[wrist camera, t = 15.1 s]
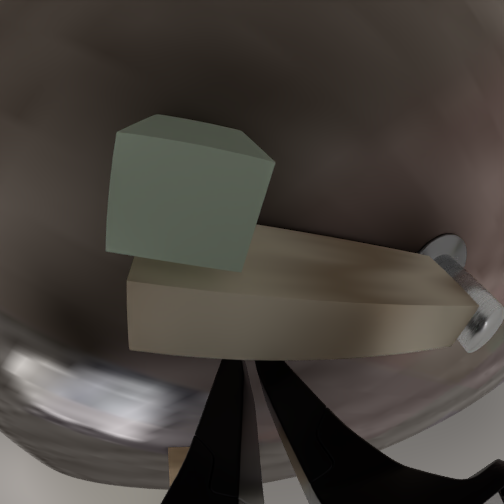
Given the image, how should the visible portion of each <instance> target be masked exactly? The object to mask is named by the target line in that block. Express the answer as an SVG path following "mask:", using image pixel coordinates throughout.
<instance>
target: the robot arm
mask: <svg viewBox="0 0 504 504" xmlns="http://www.w3.org/2000/svg"><path fill="white" fill-rule="evenodd" d="M255 364H256V368H257V372H258V375H259V379H260V382H261V386H262V389H263V393H264V396H265V400H266V403H267V406H268V408H269V411H270V413H271V416H272V418H273V421H274V423H275V426H276V428H277V431H278V433H279V435H280V438H281V440H282V443H283V445H284V447H285V450H286V452H287V455H288V457H289V459H290V462H291V464H292V466H293V469H294V471H295V473H296V475H297V478H298V480H299V482H300V484H301V486H302V489H303V491H304V493H305V495H306V498H307V500H308V502H309V504H504V461H502V460H500V459H497V460H495V461H493V462H492V463H490V464H489V465H487V466H486V467H485V468H483V469H482V470H480V471H479V472H477V473H476V474H474V475H473V476H471V477H469V478H468V479H454V478H449V477H445V476H440V475H436V474H432V473H428V472H424V471H421V470H417V469H414V468H410V467H407V466H404V465H402V464H400V463H398V462H396V461H394V460H392V459H391V458H389V457H388V456H386V455H385V454H383V453H382V452H381V451H379V450H378V449H376V448H375V447H374V446H372V445H371V444H369V443H368V442H367V441H365V440H364V439H363V438H361V437H360V436H358V435H357V434H356V433H355V432H353V431H352V430H351V429H350V428H348V427H347V426H346V425H345V424H344V423H343V422H342V421H341V420H340V419H339V418H338V417H337V416H335V415H334V413H333V412H332V411H331V410H330V409H329V408H326V405H325V404H324V403H323V402H322V401H321V400H320V399H319V398H318V397H317V396H316V395H315V394H314V393H313V392H312V391H311V390H310V389H309V387H308V386H307V385H306V384H305V383H304V382H303V381H302V380H301V379H300V378H299V377H298V376H297V375H296V373H295V372H294V371H293V370H292V369H291V368H290V367H289V366H288V365H287V364H286V363H285V361H284V360H255ZM195 435H196V436H194V437H193V440H192V443H191V445H190V448H189V450H188V453H187V455H186V457H185V460H184V462H183V464H182V466H181V468H180V470H179V472H178V474H177V476H176V477H175V479H174V481H173V483H172V485H171V486H170V488H169V490H168V492H167V494H166V496H165V497H164V499H163V501H162V503H161V504H264V496H263V487H262V475H261V465H260V454H259V444H258V433H257V422H256V411H255V404H254V398H253V394H252V390H251V385H250V381H249V376H248V372H247V367H246V363H245V360H234V359H222V361H221V364H220V366H219V369H218V372H217V375H216V377H215V380H214V383H213V386H212V388H211V391H210V394H209V397H208V399H207V402H206V405H205V408H204V410H203V413H202V416H201V418H200V421H199V424H198V427H197V429H196V432H195Z"/></svg>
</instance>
